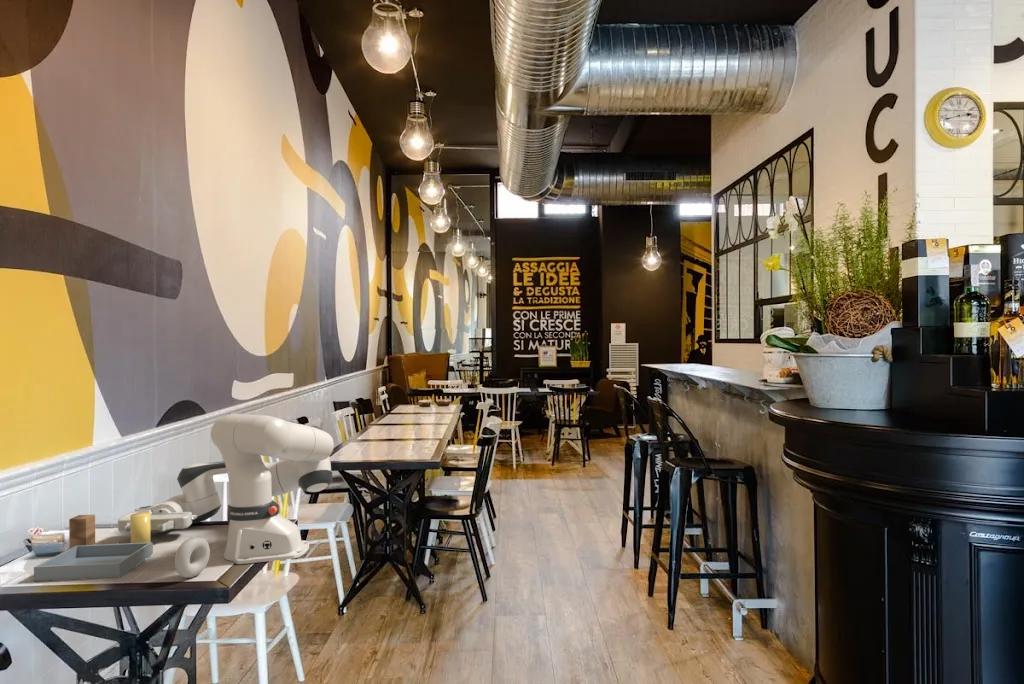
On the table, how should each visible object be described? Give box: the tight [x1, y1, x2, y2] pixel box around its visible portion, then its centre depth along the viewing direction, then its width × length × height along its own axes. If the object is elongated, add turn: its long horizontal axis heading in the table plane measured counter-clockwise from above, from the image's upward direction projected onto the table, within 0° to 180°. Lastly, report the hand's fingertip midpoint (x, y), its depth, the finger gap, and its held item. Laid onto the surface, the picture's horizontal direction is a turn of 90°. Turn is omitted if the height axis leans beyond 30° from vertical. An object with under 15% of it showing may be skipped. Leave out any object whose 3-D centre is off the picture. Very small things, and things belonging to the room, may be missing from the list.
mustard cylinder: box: [130, 512, 152, 543], centre depth 182 cm, size 5×5×10 cm
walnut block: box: [68, 514, 96, 549], centre depth 181 cm, size 4×4×10 cm
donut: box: [174, 535, 211, 579], centre depth 159 cm, size 10×4×10 cm, turn 162°
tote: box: [33, 541, 154, 582], centre depth 167 cm, size 20×18×4 cm
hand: (143, 529), depth 185 cm, fingers open, 8 cm apart
